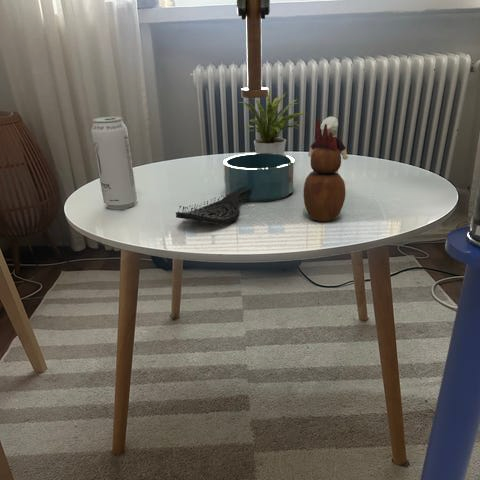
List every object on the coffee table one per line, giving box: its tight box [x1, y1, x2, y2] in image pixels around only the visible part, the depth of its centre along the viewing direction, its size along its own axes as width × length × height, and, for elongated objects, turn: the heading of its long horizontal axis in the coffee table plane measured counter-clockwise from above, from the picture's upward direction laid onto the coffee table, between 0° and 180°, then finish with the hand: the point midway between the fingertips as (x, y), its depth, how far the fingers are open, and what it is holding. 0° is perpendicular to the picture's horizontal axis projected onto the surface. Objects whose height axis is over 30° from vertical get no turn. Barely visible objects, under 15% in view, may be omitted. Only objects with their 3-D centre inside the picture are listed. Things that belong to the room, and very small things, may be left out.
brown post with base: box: [240, 0, 269, 99], centre depth 80 cm, size 5×5×16 cm
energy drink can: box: [90, 116, 138, 211], centre depth 87 cm, size 6×6×15 cm
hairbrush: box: [175, 188, 251, 226], centre depth 85 cm, size 8×4×25 cm
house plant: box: [239, 89, 307, 155], centre depth 106 cm, size 14×14×16 cm
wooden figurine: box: [302, 119, 346, 222], centre depth 77 cm, size 7×6×15 cm
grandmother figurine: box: [307, 115, 349, 174], centre depth 95 cm, size 8×4×13 cm, turn 80°
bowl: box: [222, 152, 295, 203], centre depth 94 cm, size 13×13×6 cm
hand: (253, 14), depth 77 cm, fingers closed on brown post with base, 2 cm apart
